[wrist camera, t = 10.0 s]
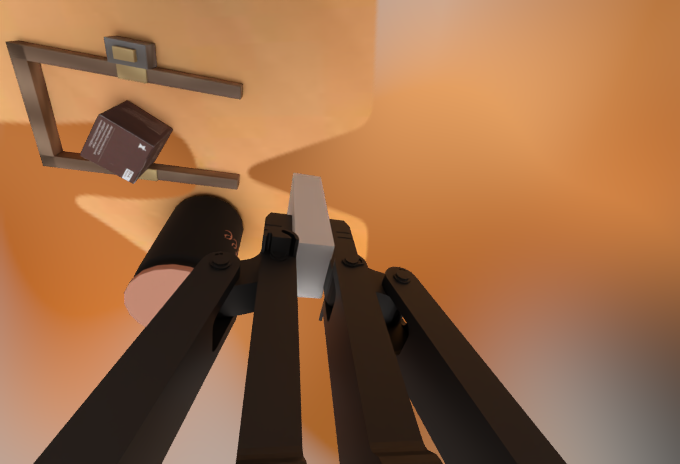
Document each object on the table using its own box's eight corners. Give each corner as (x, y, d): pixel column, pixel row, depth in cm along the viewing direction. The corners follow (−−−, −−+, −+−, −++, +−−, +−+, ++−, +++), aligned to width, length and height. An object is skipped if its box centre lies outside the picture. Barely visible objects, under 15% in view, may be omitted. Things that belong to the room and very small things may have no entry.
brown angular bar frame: (11, 14, 34) (-18, 13, 31) (243, 62, 39) (239, 65, 36) (52, 160, 42) (34, 171, 39) (239, 184, 48) (235, 195, 45)
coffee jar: (232, 256, 55) (211, 343, 40) (166, 237, 51) (115, 325, 36) (253, 207, 50) (238, 284, 35) (182, 181, 46) (132, 256, 32)
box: (127, 98, 40) (98, 112, 34) (174, 129, 42) (155, 146, 36) (108, 136, 42) (77, 155, 36) (154, 163, 44) (133, 185, 38)
